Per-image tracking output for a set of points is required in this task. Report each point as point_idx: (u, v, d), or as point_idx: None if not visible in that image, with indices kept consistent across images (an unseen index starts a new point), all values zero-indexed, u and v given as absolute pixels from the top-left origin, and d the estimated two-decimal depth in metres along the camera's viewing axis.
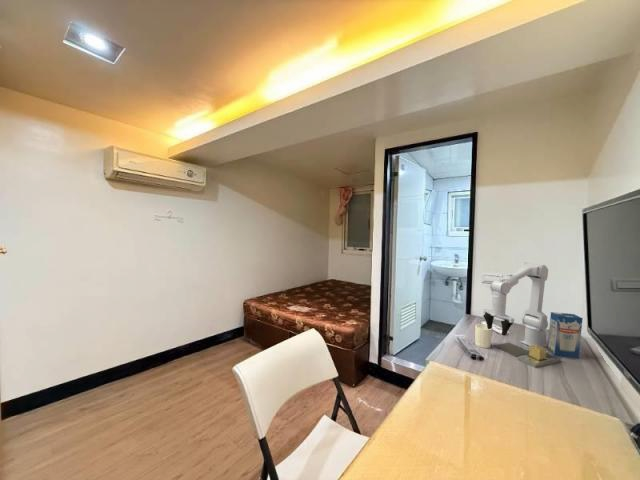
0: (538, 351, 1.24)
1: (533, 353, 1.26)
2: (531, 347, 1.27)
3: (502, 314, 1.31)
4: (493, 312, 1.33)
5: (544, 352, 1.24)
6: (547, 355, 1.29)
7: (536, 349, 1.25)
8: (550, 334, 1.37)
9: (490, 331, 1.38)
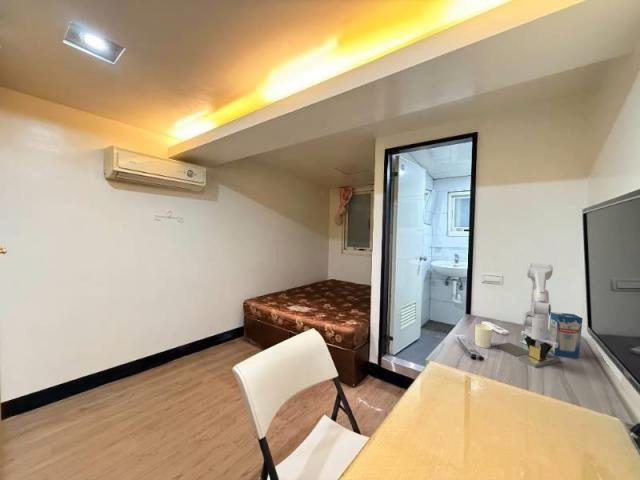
0: (538, 351, 1.24)
1: (533, 353, 1.26)
2: (531, 347, 1.27)
3: (544, 338, 1.23)
4: (534, 335, 1.25)
5: None
6: (547, 355, 1.29)
7: (536, 349, 1.25)
8: (550, 334, 1.37)
9: (490, 331, 1.38)
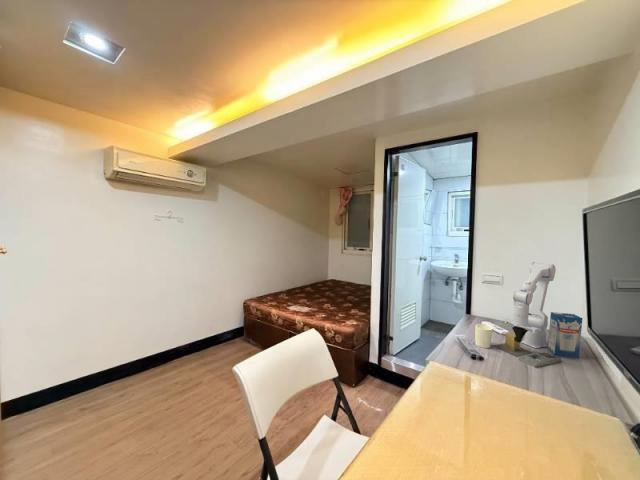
0: (513, 338, 1.36)
1: (509, 341, 1.37)
2: (507, 335, 1.38)
3: (525, 324, 1.32)
4: (516, 322, 1.34)
5: None
6: (547, 355, 1.29)
7: (511, 337, 1.36)
8: (550, 334, 1.37)
9: (490, 331, 1.38)
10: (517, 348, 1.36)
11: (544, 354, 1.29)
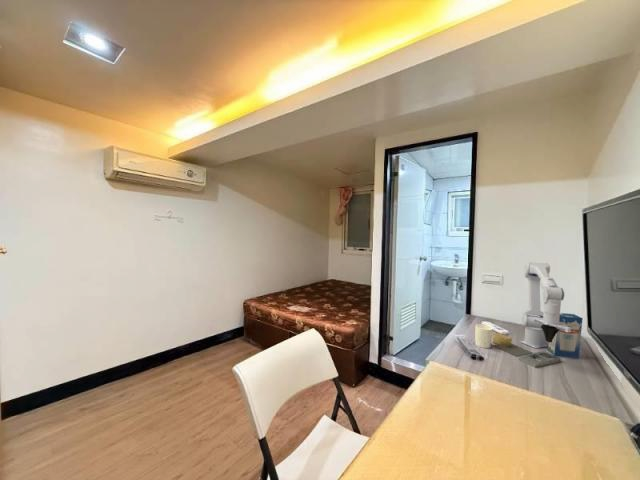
0: (494, 335, 1.45)
1: (498, 340, 1.43)
2: (493, 340, 1.45)
3: (556, 323, 1.22)
4: (546, 320, 1.24)
5: (499, 334, 1.45)
6: (547, 355, 1.29)
7: (494, 337, 1.45)
8: None
9: (490, 331, 1.38)
10: (507, 337, 1.41)
11: (544, 354, 1.29)
